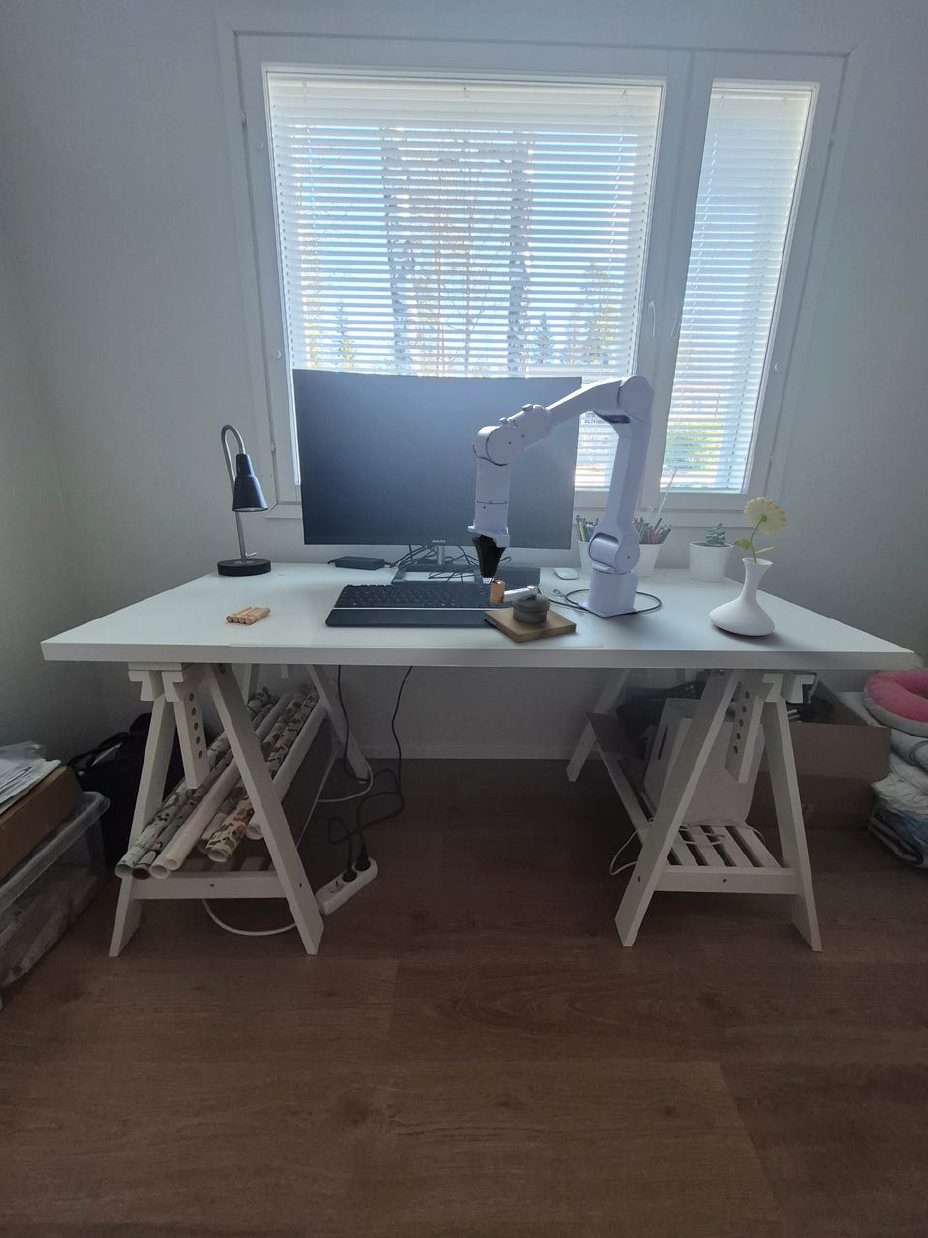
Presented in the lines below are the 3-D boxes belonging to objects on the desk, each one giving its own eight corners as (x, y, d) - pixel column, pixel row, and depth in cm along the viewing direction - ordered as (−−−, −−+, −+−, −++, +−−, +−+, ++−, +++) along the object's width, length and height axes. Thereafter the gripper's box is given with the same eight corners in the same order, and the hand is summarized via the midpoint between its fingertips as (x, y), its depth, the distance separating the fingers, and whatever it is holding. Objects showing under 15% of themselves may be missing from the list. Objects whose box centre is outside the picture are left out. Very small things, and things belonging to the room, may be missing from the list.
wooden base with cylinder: (538, 610, 98) (540, 584, 96) (575, 631, 88) (579, 603, 86) (483, 618, 92) (485, 592, 90) (517, 642, 82) (520, 613, 80)
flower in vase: (786, 642, 87) (830, 505, 78) (727, 641, 86) (765, 503, 77) (743, 616, 99) (778, 494, 90) (691, 615, 99) (720, 492, 89)
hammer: (531, 594, 89) (533, 574, 88) (539, 598, 87) (541, 577, 86) (487, 602, 84) (488, 581, 83) (495, 606, 82) (496, 585, 81)
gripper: (458, 495, 86) (456, 567, 91) (482, 508, 73) (478, 590, 79) (495, 495, 88) (490, 565, 93) (524, 508, 75) (517, 588, 80)
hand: (487, 577), depth 86 cm, fingers closed
